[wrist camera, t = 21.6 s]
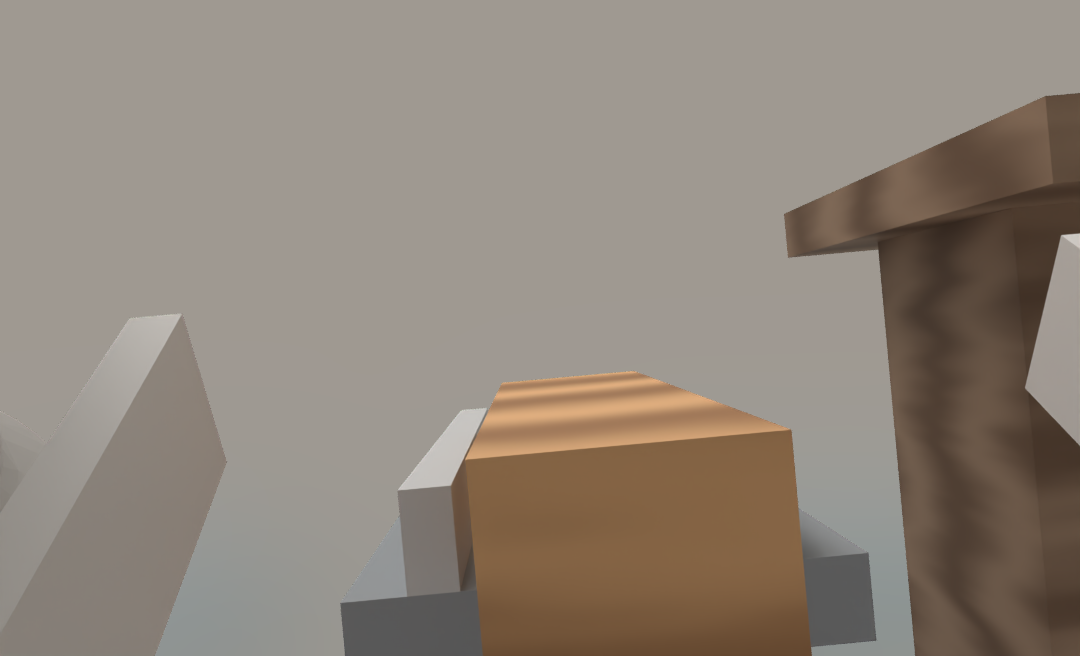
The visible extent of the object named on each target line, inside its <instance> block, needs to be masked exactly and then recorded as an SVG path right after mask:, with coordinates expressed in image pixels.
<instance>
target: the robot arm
mask: <svg viewBox="0 0 1080 656" xmlns="http://www.w3.org/2000/svg"><path fill="white" fill-rule="evenodd" d="M1025 389H1026V390H1027V391H1028V392H1029V393H1030V394H1031V395H1032V396H1033V397H1034V398H1035V399H1036V400H1037V401H1038V402H1039V403H1040V404H1041V405H1042V407H1043V408H1044V409H1045V410H1046V411H1047V412H1048V413H1049V414H1050V415H1051V416H1052V417H1053V418H1054V419H1055V420H1056V421H1057V422H1058V423H1059V424H1060V425H1061V427H1062V428H1063V429H1064V430H1065V431H1066V432H1067V433H1068V434H1069V435H1070V436H1071V437H1072V438H1073V439H1074V440H1075V441H1076V442H1077V443H1078V444H1079V445H1080V234H1069V235H1061V238H1060V242H1059V247H1058V251H1057V255H1056V259H1055V263H1054V268H1053V272H1052V276H1051V280H1050V284H1049V289H1048V293H1047V297H1046V301H1045V305H1044V310H1043V314H1042V318H1041V322H1040V327H1039V331H1038V335H1037V339H1036V343H1035V348H1034V352H1033V356H1032V360H1031V364H1030V369H1029V373H1028V377H1027V381H1026V385H1025ZM226 463H227V461H226V458H225V455H224V452H223V448H222V445H221V441H220V438H219V435H218V431H217V428H216V425H215V421H214V418H213V415H212V411H211V408H210V405H209V401H208V398H207V394H206V391H205V388H204V384H203V381H202V378H201V374H200V371H199V368H198V364H197V361H196V358H195V355H194V351H193V348H192V344H191V341H190V338H189V334H188V331H187V328H186V324H185V321H184V318H183V314H172V315H161V316H149V317H137V318H130V319H129V320H128V322H127V323H126V325H125V326H124V328H123V329H122V331H121V332H120V334H119V335H118V337H117V338H116V340H115V341H114V343H113V344H112V346H111V347H110V349H109V350H108V352H107V353H106V355H105V356H104V358H103V359H102V361H101V362H100V364H99V365H98V367H97V368H96V370H95V371H94V373H93V374H92V376H91V377H90V379H89V380H88V382H87V383H86V385H85V386H84V388H83V389H82V391H81V392H80V394H79V396H78V397H77V398H76V400H75V401H74V403H73V404H72V406H71V407H70V409H69V410H68V412H67V413H66V415H65V416H64V418H63V419H62V421H61V422H60V424H59V425H58V427H57V428H56V430H55V432H54V433H53V434H52V436H51V438H50V439H49V440H48V442H47V443H45V442H44V441H43V440H42V439H41V438H40V437H39V436H38V435H37V434H36V433H35V432H34V431H33V430H31V429H30V428H28V427H27V426H25V425H24V424H22V423H21V422H20V421H18V420H16V419H15V418H13V417H11V416H9V415H8V414H6V413H4V412H2V411H0V656H155V654H156V651H157V649H158V646H159V643H160V640H161V638H162V635H163V632H164V630H165V627H166V624H167V622H168V619H169V616H170V613H171V611H172V608H173V606H174V603H175V600H176V597H177V595H178V592H179V589H180V587H181V584H182V581H183V579H184V576H185V573H186V571H187V568H188V565H189V562H190V560H191V557H192V554H193V552H194V549H195V546H196V543H197V540H198V538H199V536H200V533H201V530H202V527H203V525H204V522H205V519H206V517H207V514H208V511H209V509H210V506H211V503H212V501H213V498H214V495H215V493H216V490H217V487H218V484H219V482H220V479H221V476H222V473H223V471H224V468H225V465H226Z"/></svg>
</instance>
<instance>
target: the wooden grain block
mask: <svg viewBox="0 0 1080 656" xmlns="http://www.w3.org/2000/svg"><path fill="white" fill-rule="evenodd" d="M465 463H466V474H467V485H468V496H469V507H470V518H471V530H472V541H473V552H474V563H475V574H476V585H477V597H478V608H479V619H480V630H481V641H482V652H483V656H812V654H811V653H812V652H811V641H810V630H809V619H808V608H807V597H806V586H805V575H804V564H803V553H802V542H801V531H800V520H799V509H798V498H797V487H796V476H795V466H794V454H793V443H792V432H791V429H788V428H785V427H783V426H780V425H777V424H775V423H772V422H769V421H767V420H764V419H761V418H758V417H756V416H753V415H751V414H748V413H745V412H742V411H740V410H737V409H734V408H732V407H729V406H726V405H724V404H721V403H718V402H715V401H713V400H710V399H708V398H705V397H702V396H700V395H697V394H694V393H691V392H689V391H686V390H683V389H681V388H678V387H675V386H673V385H670V384H667V383H665V382H662V381H659V380H657V379H654V378H651V377H649V376H646V375H643V374H640V373H638V372H635V371H628V372H618V373H607V374H595V375H585V376H573V377H562V378H552V379H540V380H529V381H518V382H508V383H502V384H501V386H500V388H499V390H498V393H497V395H496V397H495V399H494V401H493V403H492V405H491V407H490V409H489V411H488V413H487V415H486V417H485V420H484V422H483V424H482V426H481V428H480V430H479V432H478V434H477V436H476V438H475V440H474V442H473V445H472V447H471V449H470V451H469V453H468V455H467V457H466V459H465Z"/></svg>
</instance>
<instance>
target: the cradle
mask: <svg viewBox="0 0 1080 656" xmlns="http://www.w3.org/2000/svg"><path fill="white" fill-rule="evenodd" d="M487 413H488V408H481V409H471V410H461V411H460V412H459V414H458V415H457V416H456V418H455V419H454V420H453V421H452V423H451V424H450V425H449V426H448V428H447V429H446V430H445V431H444V433H443V434H442V435H441V437H440V438H439V439H438V440H437V441H436V443H435V444H434V445H433V447H432V448H431V449H430V450H429V451H428V453H427V454H426V456H425V457H424V458H423V459H422V460H421V462H420V463H419V464H418V465H417V467H416V468H415V469H414V470H413V472H412V473H411V474H410V475H409V477H408V478H407V479H406V481H405V482H404V483H403V484H402V486H401V487H400V488H399V489H398V500H399V512H400V516H399V517H398V519H397V520H396V521H395V523H394V524H393V526H392V527H391V529H390V530H389V532H388V533H387V535H386V536H385V538H384V539H383V541H382V542H381V544H380V545H379V547H378V548H377V550H376V551H375V553H374V554H373V556H372V557H371V558H370V560H369V561H368V563H367V565H366V566H365V568H364V569H363V570H362V572H361V573H360V575H359V576H358V578H357V579H356V581H355V582H354V584H353V585H352V587H351V588H350V590H349V591H348V593H347V594H346V596H345V597H344V598H343V600H342V601H341V615H342V625H343V637H344V647H345V656H483V652H482V641H481V630H480V619H479V608H478V597H477V585H476V574H475V563H474V552H473V541H472V530H471V518H470V507H469V496H468V485H467V474H466V463H465V459H466V457H467V455H468V453H469V451H470V449H471V447H472V445H473V442H474V440H475V438H476V436H477V434H478V432H479V430H480V428H481V426H482V424H483V422H484V420H485V417H486V415H487ZM798 509H799V508H798ZM799 520H800V531H801V542H802V553H803V564H804V575H805V586H806V597H807V608H808V619H809V630H810V641H811V647H815V646H826V645H836V644H846V643H856V642H867V641H876V632H875V621H874V610H873V599H872V588H871V576H870V565H869V554H868V552H866V551H864V550H863V549H861V548H860V547H858V546H857V545H855V544H854V543H852V542H850V541H849V540H848V539H846V538H844V537H843V536H841V535H840V534H838V533H837V532H835V531H833V530H832V529H830V528H829V527H827V526H826V525H824V524H823V523H821V522H819V521H818V520H816V519H815V518H813V517H812V516H810V515H809V514H807V513H805V512H804V511H802V510H801V509H799Z"/></svg>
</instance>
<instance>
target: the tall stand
mask: <svg viewBox="0 0 1080 656" xmlns="http://www.w3.org/2000/svg"><path fill="white" fill-rule="evenodd" d="M784 217H785V229H786V239H787V251H788V257H800V256H811V255H822V254H834V253H844V252H855V251H867V250H879V261H880V272H881V283H882V294H883V305H884V316H885V327H886V338H887V349H888V360H889V371H890V381H891V393H892V404H893V416H894V427H895V437H896V449H897V460H898V471H899V481H900V493H901V503H902V515H903V526H904V537H905V547H906V559H907V570H908V581H909V592H910V603H911V614H912V624H913V636H914V646H915V656H1080V445H1079V444H1078V443H1077V442H1076V441H1075V440H1074V439H1073V438H1072V437H1071V436H1070V435H1069V434H1068V433H1067V432H1066V431H1065V430H1064V429H1063V428H1062V427H1061V425H1060V424H1059V423H1058V422H1057V421H1056V420H1055V419H1054V418H1053V417H1052V416H1051V415H1050V414H1049V413H1048V412H1047V411H1046V410H1045V409H1044V408H1043V407H1042V405H1041V404H1040V403H1039V402H1038V401H1037V400H1036V399H1035V398H1034V397H1033V396H1032V395H1031V394H1030V393H1029V392H1028V391H1027V390H1026V389H1025V385H1026V381H1027V377H1028V373H1029V369H1030V364H1031V360H1032V356H1033V352H1034V348H1035V343H1036V339H1037V335H1038V331H1039V327H1040V322H1041V318H1042V314H1043V310H1044V305H1045V301H1046V297H1047V293H1048V289H1049V284H1050V280H1051V276H1052V272H1053V268H1054V263H1055V259H1056V255H1057V251H1058V247H1059V242H1060V238H1061V235H1069V234H1080V93H1077V94H1066V95H1053V96H1045V97H1042V98H1040V99H1038V100H1036V101H1034V102H1031V103H1029V104H1027V105H1025V106H1023V107H1020V108H1018V109H1016V110H1014V111H1011V112H1009V113H1007V114H1005V115H1003V116H1000V117H998V118H996V119H994V120H991V121H989V122H987V123H985V124H983V125H980V126H978V127H976V128H974V129H971V130H969V131H967V132H965V133H963V134H960V135H958V136H956V137H954V138H952V139H949V140H947V141H945V142H943V143H941V144H938V145H936V146H934V147H932V148H929V149H927V150H925V151H923V152H921V153H919V154H916V155H914V156H912V157H910V158H907V159H905V160H903V161H901V162H898V163H896V164H894V165H892V166H889V167H888V168H885V169H883V170H881V171H878V172H876V173H874V174H872V175H870V176H868V177H865V178H863V179H861V180H858V181H856V182H854V183H852V184H850V185H848V186H845V187H843V188H841V189H839V190H836V191H835V192H832V193H830V194H827V195H825V196H823V197H821V198H819V199H816V200H814V201H812V202H810V203H808V204H805V205H803V206H801V207H799V208H796V209H794V210H792V211H790V212H788V213H786V214H784Z"/></svg>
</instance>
